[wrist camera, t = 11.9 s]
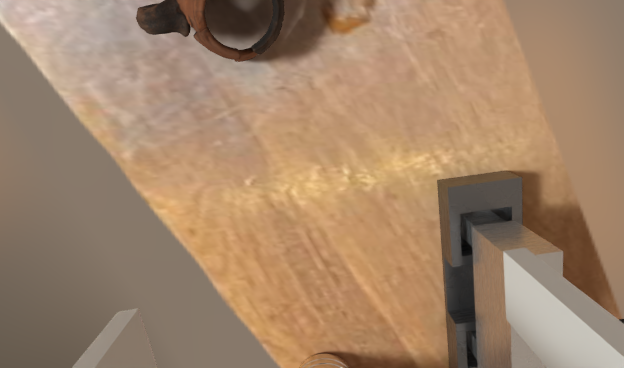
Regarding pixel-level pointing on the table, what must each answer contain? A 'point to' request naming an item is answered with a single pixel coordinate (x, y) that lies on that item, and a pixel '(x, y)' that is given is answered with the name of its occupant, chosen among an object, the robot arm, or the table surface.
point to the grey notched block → (500, 287)
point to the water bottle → (324, 362)
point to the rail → (469, 248)
